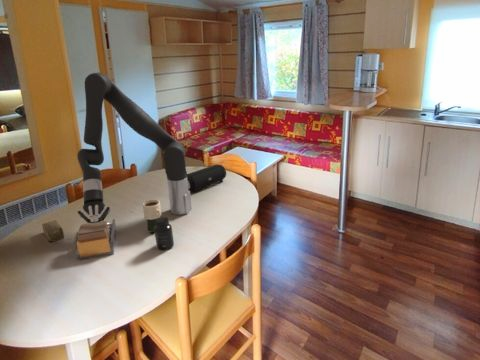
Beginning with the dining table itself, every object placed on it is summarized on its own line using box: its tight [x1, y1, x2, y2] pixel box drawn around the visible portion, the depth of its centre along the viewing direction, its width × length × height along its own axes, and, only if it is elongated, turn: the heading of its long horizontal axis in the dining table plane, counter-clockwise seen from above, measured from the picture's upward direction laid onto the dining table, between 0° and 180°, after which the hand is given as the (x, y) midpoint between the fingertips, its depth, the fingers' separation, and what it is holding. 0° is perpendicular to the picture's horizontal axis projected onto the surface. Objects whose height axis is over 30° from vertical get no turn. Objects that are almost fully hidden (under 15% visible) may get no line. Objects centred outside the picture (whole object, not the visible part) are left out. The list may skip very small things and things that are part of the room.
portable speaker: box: [187, 163, 227, 193], centre depth 191 cm, size 26×10×10 cm, turn 135°
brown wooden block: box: [77, 220, 110, 242], centre depth 134 cm, size 8×10×7 cm
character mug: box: [142, 198, 162, 233], centre depth 147 cm, size 11×7×13 cm, turn 47°
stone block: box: [41, 220, 65, 242], centre depth 146 cm, size 6×12×5 cm, turn 41°
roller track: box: [75, 219, 117, 261], centre depth 141 cm, size 24×13×7 cm, turn 16°
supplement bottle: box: [153, 216, 175, 251], centre depth 135 cm, size 7×7×12 cm
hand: (95, 231), depth 139 cm, fingers closed
